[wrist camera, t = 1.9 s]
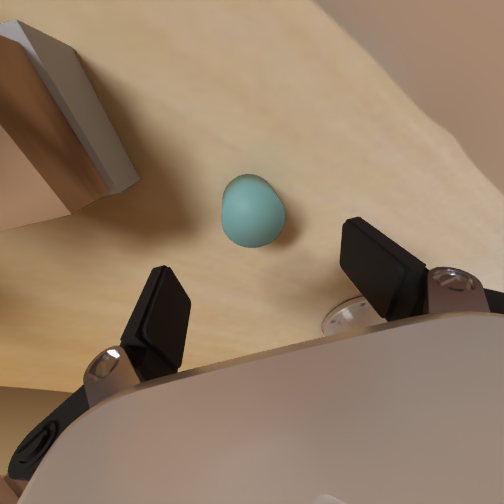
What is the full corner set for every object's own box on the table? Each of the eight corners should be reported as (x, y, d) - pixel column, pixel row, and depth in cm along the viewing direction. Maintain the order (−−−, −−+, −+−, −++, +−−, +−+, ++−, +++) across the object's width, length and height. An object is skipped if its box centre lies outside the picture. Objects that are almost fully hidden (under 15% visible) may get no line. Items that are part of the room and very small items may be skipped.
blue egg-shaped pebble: (277, 218, 22) (288, 239, 18) (230, 229, 22) (231, 253, 18) (269, 168, 19) (281, 180, 15) (215, 181, 19) (212, 197, 15)
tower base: (141, 179, 18) (119, 193, 15) (52, 200, 19) (8, 219, 15) (74, 48, 13) (15, 18, 10) (-47, 79, 14) (-150, 62, 10)
